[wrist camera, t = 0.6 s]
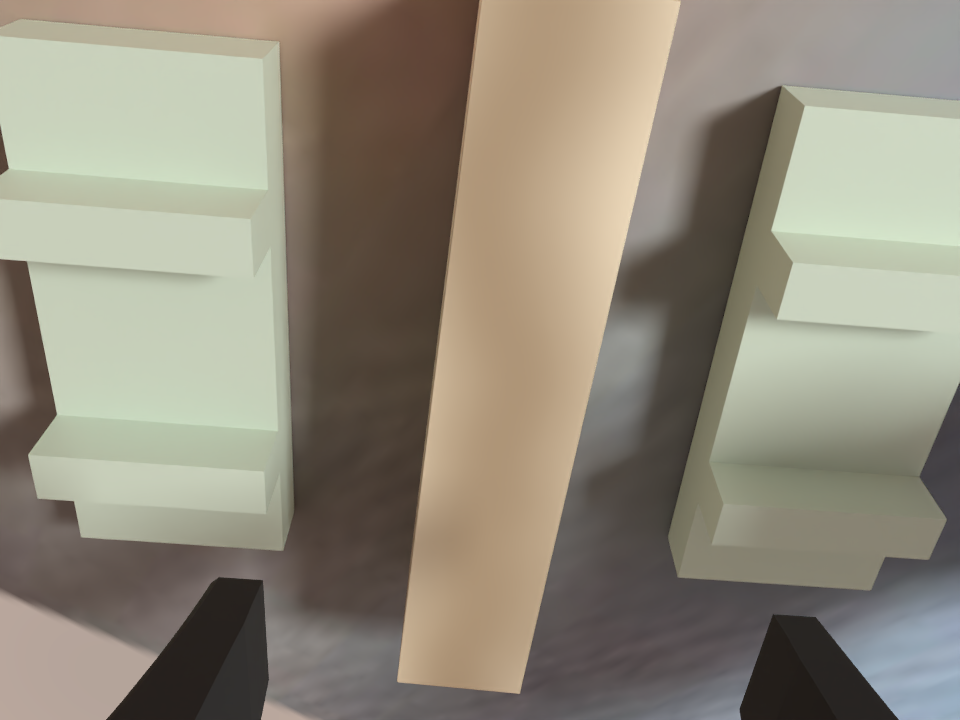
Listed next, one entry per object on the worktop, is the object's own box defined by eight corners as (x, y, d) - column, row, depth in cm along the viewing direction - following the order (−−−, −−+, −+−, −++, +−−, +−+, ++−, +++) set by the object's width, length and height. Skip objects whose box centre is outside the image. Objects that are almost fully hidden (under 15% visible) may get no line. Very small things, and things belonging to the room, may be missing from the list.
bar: (642, -35, 17) (680, 1, 14) (515, 575, 25) (519, 693, 22) (486, -58, 17) (485, -27, 13) (409, 564, 25) (396, 682, 22)
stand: (1026, 107, 18) (1115, 153, 15) (850, 549, 24) (893, 636, 22) (20, 19, 17) (-62, 52, 15) (103, 498, 23) (56, 581, 21)
